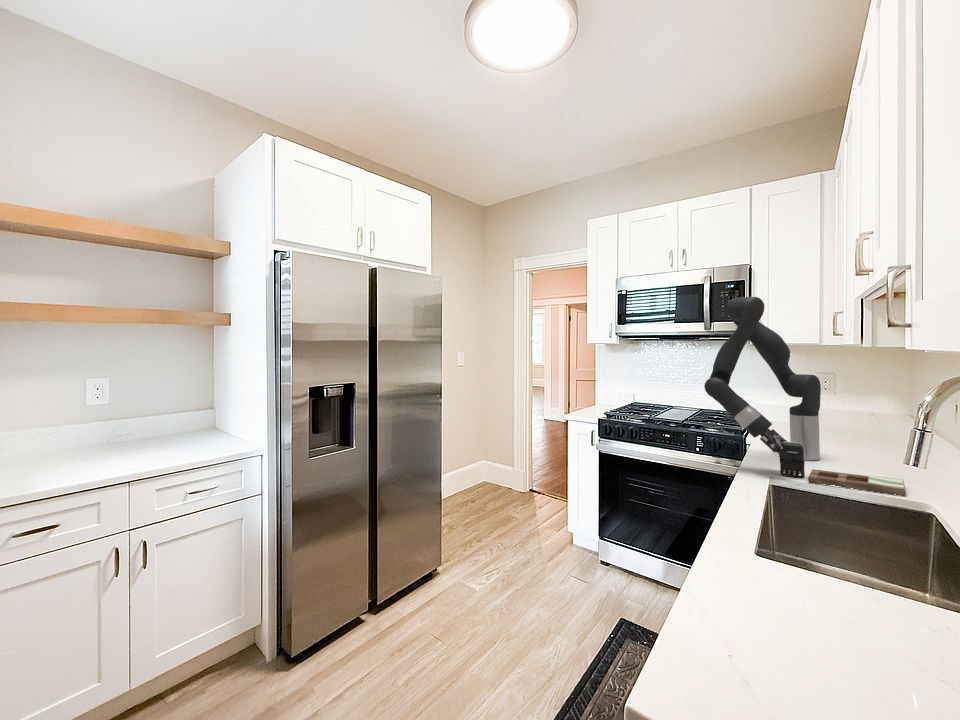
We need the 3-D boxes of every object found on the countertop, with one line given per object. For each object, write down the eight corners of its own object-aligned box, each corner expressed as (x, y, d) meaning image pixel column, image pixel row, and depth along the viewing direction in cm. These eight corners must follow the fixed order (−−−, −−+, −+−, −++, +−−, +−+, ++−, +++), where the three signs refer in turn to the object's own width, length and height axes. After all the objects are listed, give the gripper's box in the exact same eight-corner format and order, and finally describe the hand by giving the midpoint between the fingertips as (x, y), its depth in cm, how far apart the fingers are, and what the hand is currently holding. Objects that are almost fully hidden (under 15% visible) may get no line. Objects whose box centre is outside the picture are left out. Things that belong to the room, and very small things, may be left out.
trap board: (812, 475, 145) (812, 468, 145) (903, 486, 130) (903, 479, 130) (808, 482, 136) (808, 475, 136) (905, 496, 121) (905, 488, 121)
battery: (778, 476, 145) (777, 442, 145) (780, 473, 148) (779, 440, 148) (804, 479, 140) (803, 444, 140) (805, 477, 143) (804, 442, 143)
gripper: (756, 416, 145) (799, 454, 137) (765, 412, 155) (805, 447, 147) (739, 430, 148) (779, 468, 140) (748, 425, 159) (787, 460, 151)
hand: (792, 457), depth 144 cm, fingers open, 8 cm apart
